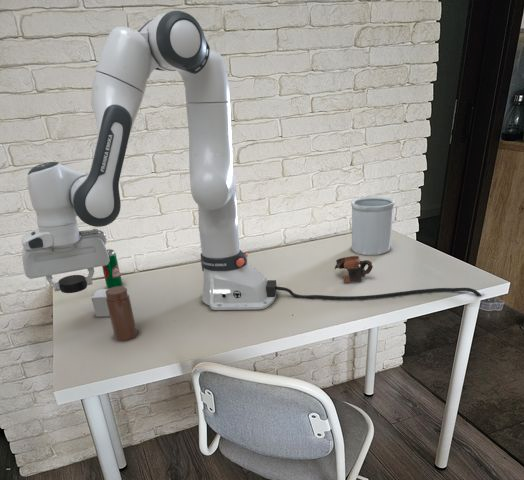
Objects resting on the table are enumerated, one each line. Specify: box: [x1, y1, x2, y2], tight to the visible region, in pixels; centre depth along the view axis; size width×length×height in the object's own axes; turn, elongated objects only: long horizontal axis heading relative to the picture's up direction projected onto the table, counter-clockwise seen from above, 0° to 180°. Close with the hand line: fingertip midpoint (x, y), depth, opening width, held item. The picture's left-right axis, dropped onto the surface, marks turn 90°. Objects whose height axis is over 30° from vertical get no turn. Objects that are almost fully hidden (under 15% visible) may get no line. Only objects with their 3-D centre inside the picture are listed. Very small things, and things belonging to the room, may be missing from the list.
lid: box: [57, 274, 88, 294], centre depth 122 cm, size 7×7×2 cm
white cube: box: [91, 288, 110, 318], centre depth 139 cm, size 6×6×6 cm
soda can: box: [101, 248, 123, 289], centre depth 155 cm, size 5×5×12 cm
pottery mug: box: [333, 255, 374, 284], centre depth 152 cm, size 12×10×8 cm
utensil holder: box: [350, 195, 396, 256], centre depth 172 cm, size 15×15×18 cm
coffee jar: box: [105, 285, 138, 342], centre depth 123 cm, size 6×6×13 cm
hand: (73, 287), depth 123 cm, fingers closed on lid, 6 cm apart
